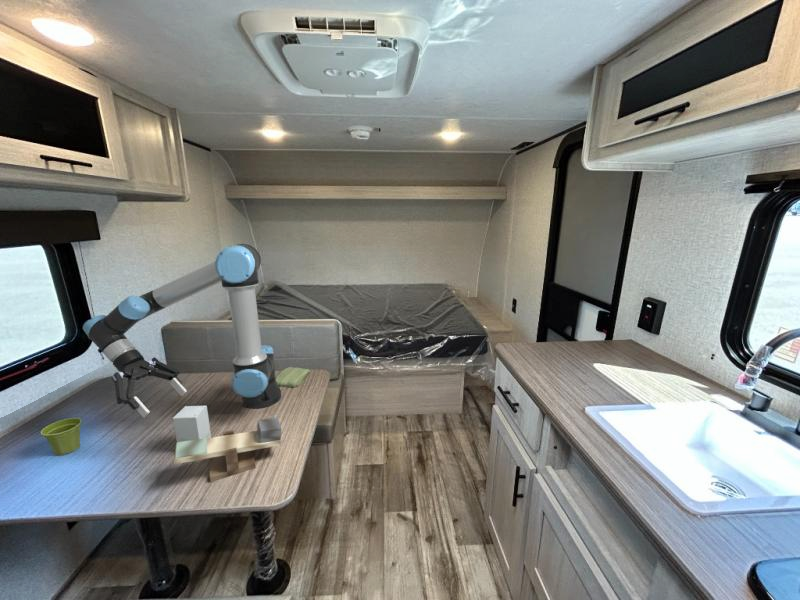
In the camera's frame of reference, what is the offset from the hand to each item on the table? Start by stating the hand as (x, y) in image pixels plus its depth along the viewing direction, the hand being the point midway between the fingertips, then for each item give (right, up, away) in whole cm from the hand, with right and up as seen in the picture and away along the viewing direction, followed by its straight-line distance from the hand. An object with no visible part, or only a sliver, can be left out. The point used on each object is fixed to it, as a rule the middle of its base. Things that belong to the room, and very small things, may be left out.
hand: (166, 403), depth 112 cm
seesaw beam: (+25, -10, -9) cm, 28 cm away
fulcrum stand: (+25, -16, -7) cm, 31 cm away
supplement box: (+9, -14, +1) cm, 17 cm away
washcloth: (+25, -4, +50) cm, 56 cm away
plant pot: (-31, -15, -1) cm, 35 cm away
